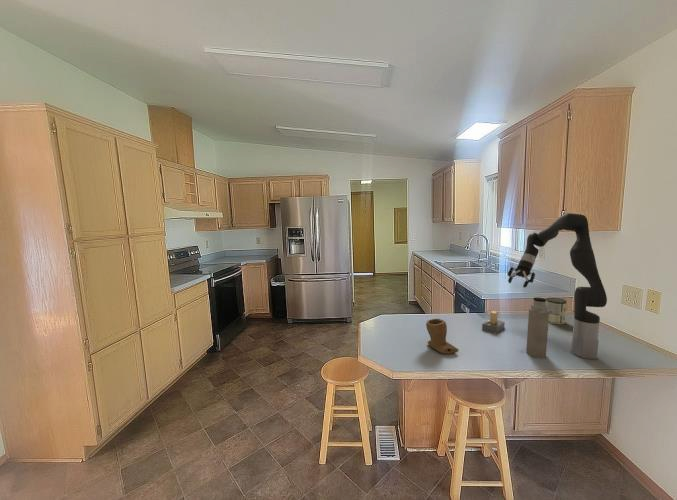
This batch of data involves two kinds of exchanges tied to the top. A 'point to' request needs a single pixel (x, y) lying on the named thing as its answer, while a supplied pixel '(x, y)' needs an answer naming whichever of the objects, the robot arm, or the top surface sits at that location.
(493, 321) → the tall tan rectangular block
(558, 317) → the coffee can
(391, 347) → the top surface
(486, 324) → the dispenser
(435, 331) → the brown boot-shaped pot
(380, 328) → the top surface
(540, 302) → the thermos bottle
